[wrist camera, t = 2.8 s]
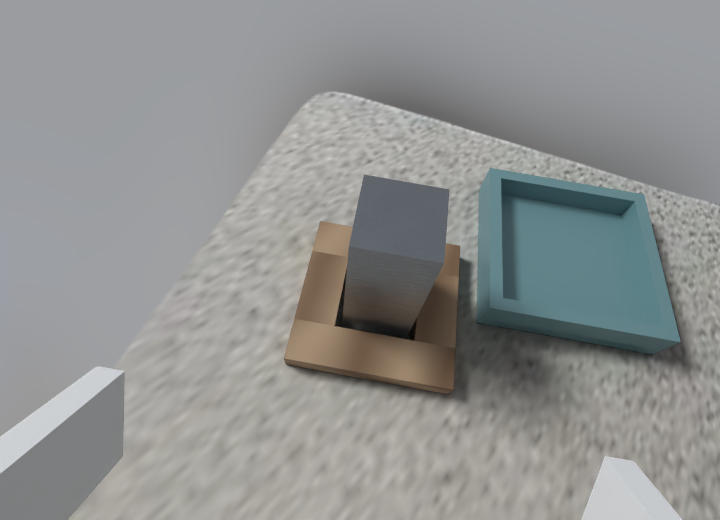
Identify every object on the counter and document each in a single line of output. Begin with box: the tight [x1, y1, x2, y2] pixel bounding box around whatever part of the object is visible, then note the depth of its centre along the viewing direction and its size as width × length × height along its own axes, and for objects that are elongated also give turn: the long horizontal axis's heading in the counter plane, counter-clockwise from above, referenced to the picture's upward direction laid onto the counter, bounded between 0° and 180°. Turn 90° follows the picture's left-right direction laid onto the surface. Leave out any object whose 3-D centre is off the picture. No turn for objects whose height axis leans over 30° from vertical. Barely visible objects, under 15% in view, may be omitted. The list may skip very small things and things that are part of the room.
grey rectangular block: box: [342, 175, 449, 339], centre depth 27 cm, size 5×5×12 cm
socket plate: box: [284, 221, 460, 394], centre depth 32 cm, size 12×12×2 cm
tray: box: [477, 168, 681, 354], centre depth 34 cm, size 14×14×3 cm
